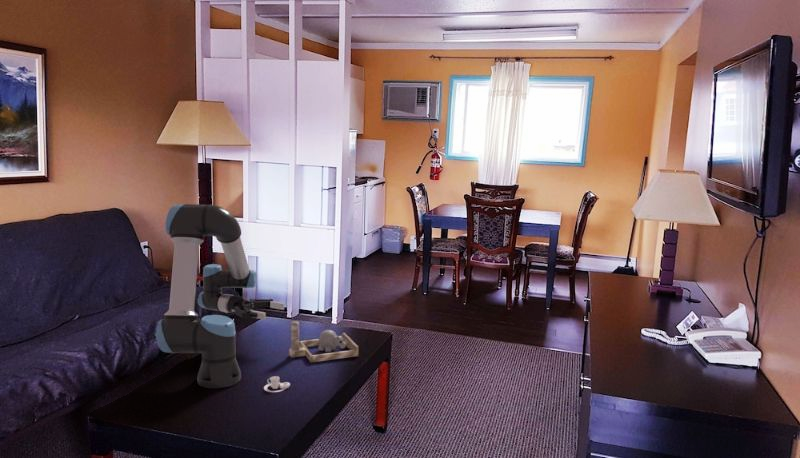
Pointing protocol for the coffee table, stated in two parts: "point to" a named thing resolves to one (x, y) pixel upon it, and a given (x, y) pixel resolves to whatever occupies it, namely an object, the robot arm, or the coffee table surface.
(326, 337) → the chubby cartoon animal
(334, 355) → the pull frame
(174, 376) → the coffee table surface
